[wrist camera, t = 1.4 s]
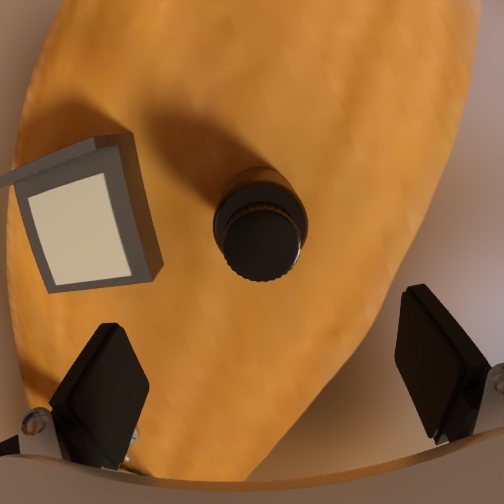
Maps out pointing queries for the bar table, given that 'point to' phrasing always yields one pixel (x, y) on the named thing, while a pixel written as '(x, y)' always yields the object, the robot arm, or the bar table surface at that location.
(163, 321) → the bar table surface
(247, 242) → the supplement bottle
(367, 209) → the bar table surface
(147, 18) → the bar table surface
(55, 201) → the shelf block
